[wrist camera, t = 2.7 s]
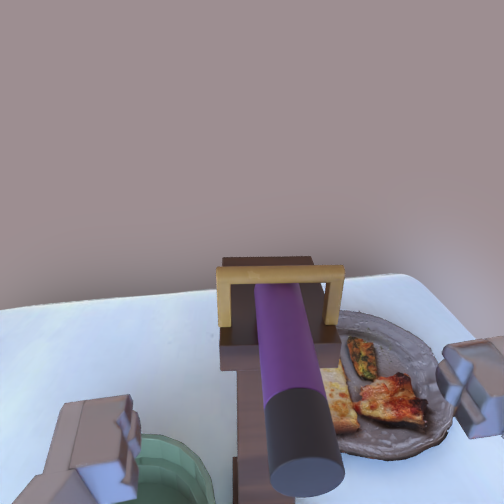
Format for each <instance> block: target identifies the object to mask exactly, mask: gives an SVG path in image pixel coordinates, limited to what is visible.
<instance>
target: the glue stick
mask: <svg viewBox="0 0 504 504" xmlns="http://www.w3.org/2000/svg"><path fill="white" fill-rule="evenodd" d="M254 295H255V307H256V319H257V331H258V343H259V355H260V367H261V379H262V391H263V403H264V415H265V427H266V439H267V451H268V463H269V475H270V483H271V485H272V487H273V488H274V489H275V490H276V491H277V492H279V493H281V494H283V495H286V496H291V497H313V496H318V495H322V494H325V493H327V492H329V491H331V490H333V489H335V488H336V487H337V486H339V485H340V483H341V482H342V481H343V479H344V476H345V469H344V465H343V461H342V457H341V453H340V449H339V445H338V441H337V437H336V433H335V429H334V425H333V421H332V417H331V412H330V408H329V404H328V400H327V396H326V392H325V388H324V384H323V380H322V376H321V372H320V368H319V364H318V359H317V355H316V351H315V347H314V343H313V339H312V335H311V331H310V327H309V323H308V319H307V315H306V311H305V307H304V302H303V298H302V294H301V290H300V286H299V283H275V284H255V288H254Z"/></svg>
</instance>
